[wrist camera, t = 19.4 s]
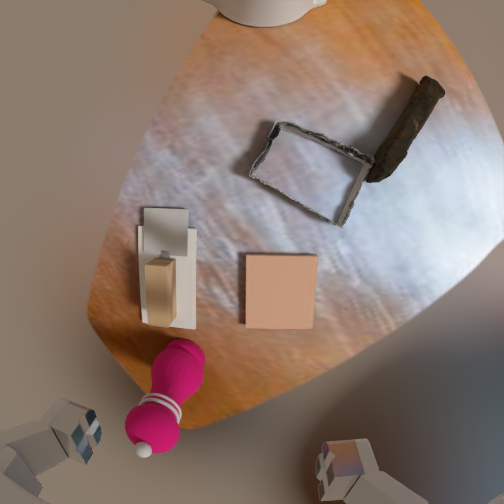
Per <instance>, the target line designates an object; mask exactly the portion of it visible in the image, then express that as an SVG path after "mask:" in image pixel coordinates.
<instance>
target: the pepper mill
mask: <svg viewBox="0 0 504 504" xmlns="http://www.w3.org/2000/svg"><path fill="white" fill-rule="evenodd" d="M204 363H205V357H204V353H203V351H202V350H201V349H200V347H199V346H198V345H196V344H195V343H194V342H191V341H189V340H185V339H176V340H173V341H171V342H170V343H169V344H168V345H167V346H166V348H165V350H164V351H162V352H160V353H159V354H158V355H157V356H156V358H155V360H154V362H153V364H152V369H151V377H152V388H151V391H150V393H149V394H146V395H145V396H144V397H143V398H142V400H141V402H140V403H139V406H136V407H135V408H133V409H132V410H131V411H130V412H129V414H128V415H127V418H126V421H125V430H126V433H127V435H128V437H129V439H130V440H131V441H132V443H133V444H134V445H135V449H134V450H135V452H136V454H137V455H138V456H140V457H148V456H150V455H151V453H164V452H166V451H169V450H170V449H171V448H173V447H174V446H175V445H176V443H177V441H178V439H179V435H180V430H179V426H178V424H179V422H180V419H181V415H182V413H181V409H180V407H181V405H182V403H183V402H184V401H185V400H186V399H187V398H189V397H190V396H192V395H193V394H194V393H195V392H196V391H197V390H198V389H199V387H200V385H201V383H202V380H203V366H204Z"/></svg>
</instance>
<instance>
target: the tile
mask: <svg viewBox="0 0 504 504" xmlns="http://www.w3.org/2000/svg"><path fill="white" fill-rule="evenodd" d="M317 267H318V256H317V255H301V254H246V328H267V329H312V326H313V316H314V305H315V294H316V281H317Z"/></svg>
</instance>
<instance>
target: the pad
mask: <svg viewBox="0 0 504 504" xmlns="http://www.w3.org/2000/svg"><path fill="white" fill-rule="evenodd" d="M196 238H197V228H188V256H187V257H185V256H171V255H170V258H171V259H176V305H177V316H176V317H175V319H174V320H173V322H172V323H171V325H170V327H178V328H187V329H196ZM138 254H139V280H140V297H141V310H142V322H143V323H148V317H147V303H146V286H145V264H147V263H148V262H150V261H151V260H153V259H154V258H156V257H158V258H161V255H158V254H144V226H138Z"/></svg>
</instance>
